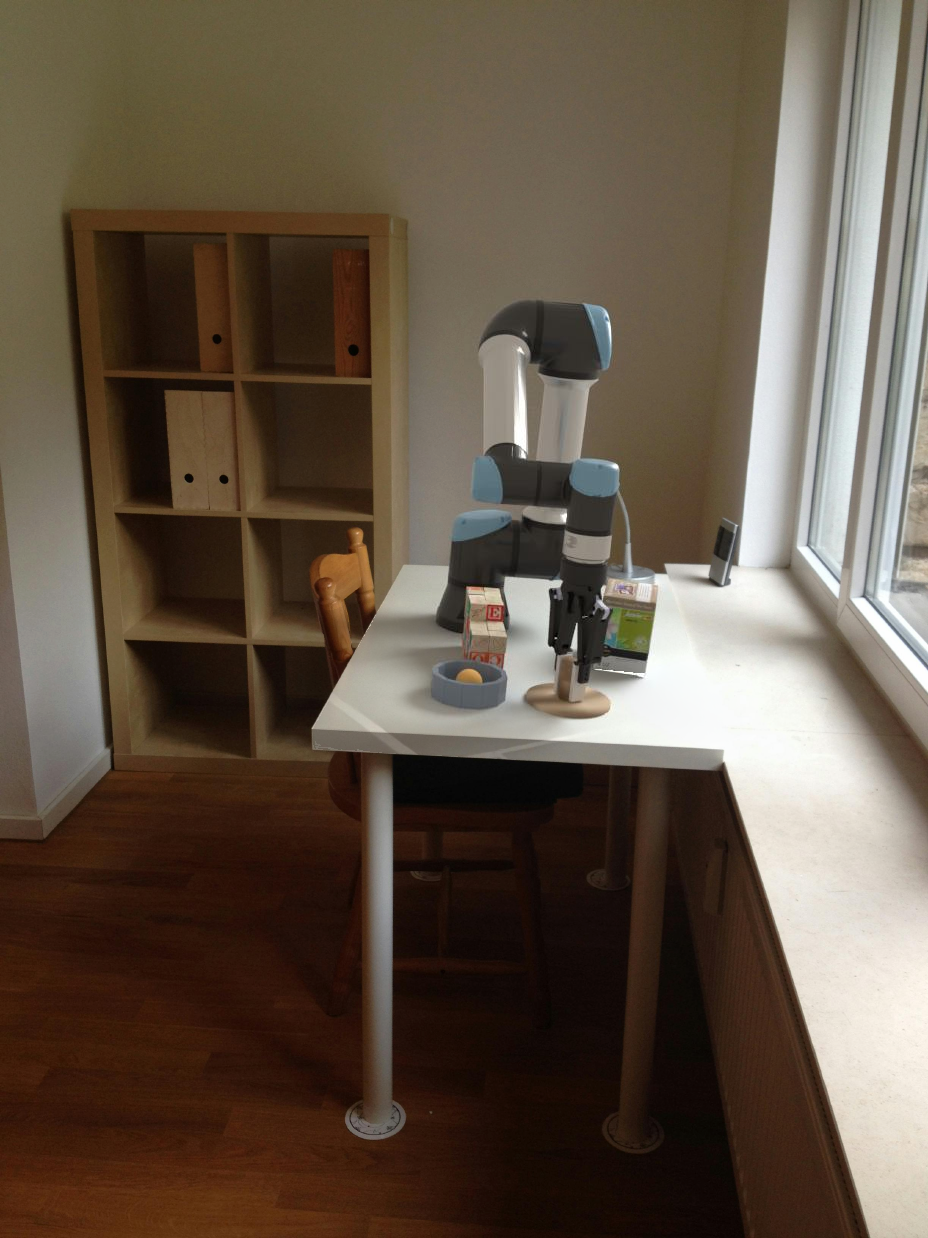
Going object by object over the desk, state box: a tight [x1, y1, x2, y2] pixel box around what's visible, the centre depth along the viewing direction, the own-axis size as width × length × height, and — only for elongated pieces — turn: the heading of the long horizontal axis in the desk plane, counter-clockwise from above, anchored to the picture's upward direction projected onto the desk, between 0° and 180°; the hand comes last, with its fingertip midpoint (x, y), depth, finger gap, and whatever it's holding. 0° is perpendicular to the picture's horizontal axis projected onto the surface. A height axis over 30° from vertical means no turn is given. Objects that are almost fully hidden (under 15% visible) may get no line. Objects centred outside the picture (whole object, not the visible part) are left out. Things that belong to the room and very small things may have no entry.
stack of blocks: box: [461, 587, 508, 670], centre depth 186 cm, size 21×6×12 cm, turn 2°
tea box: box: [592, 578, 659, 674], centre depth 194 cm, size 15×10×15 cm
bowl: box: [430, 659, 508, 710], centre depth 169 cm, size 12×12×5 cm
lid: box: [525, 656, 612, 719], centre depth 170 cm, size 14×14×8 cm
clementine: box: [456, 669, 482, 683], centre depth 169 cm, size 4×4×4 cm
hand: (568, 695), depth 170 cm, fingers closed on lid, 3 cm apart
